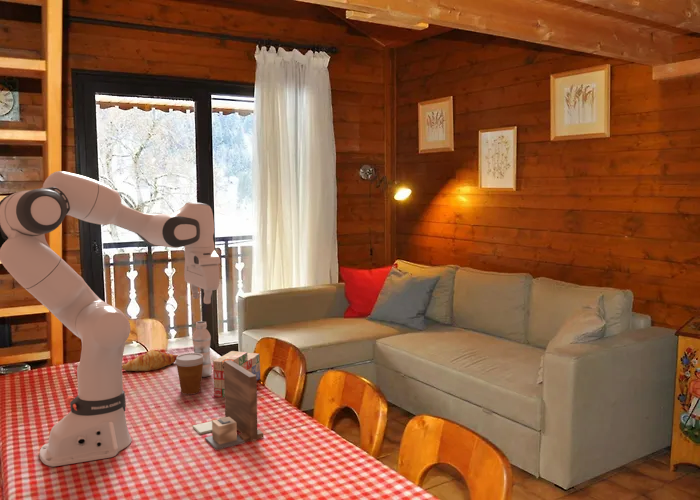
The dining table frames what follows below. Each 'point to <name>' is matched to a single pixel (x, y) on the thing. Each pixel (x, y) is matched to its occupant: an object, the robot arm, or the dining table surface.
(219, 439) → the marked cube
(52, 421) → the dining table surface
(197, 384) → the disposable coffee cup
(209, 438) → the slate pad
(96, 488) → the dining table surface
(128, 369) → the croissant
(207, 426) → the cream rectangular pad
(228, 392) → the walnut screen
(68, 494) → the dining table surface
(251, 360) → the stack of blocks
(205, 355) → the plastic bottle
